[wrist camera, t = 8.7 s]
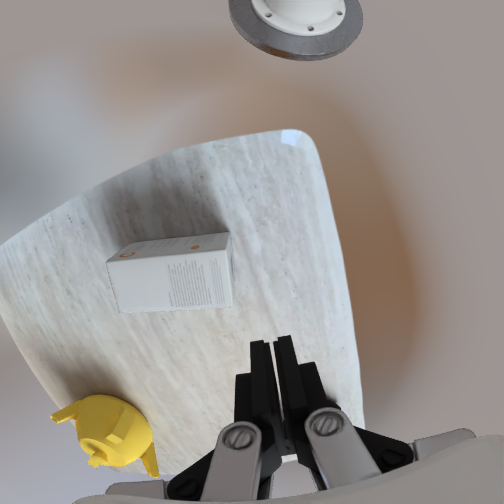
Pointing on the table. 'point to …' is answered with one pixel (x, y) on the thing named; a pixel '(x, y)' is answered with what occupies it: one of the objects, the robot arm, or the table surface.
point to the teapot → (111, 432)
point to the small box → (174, 274)
